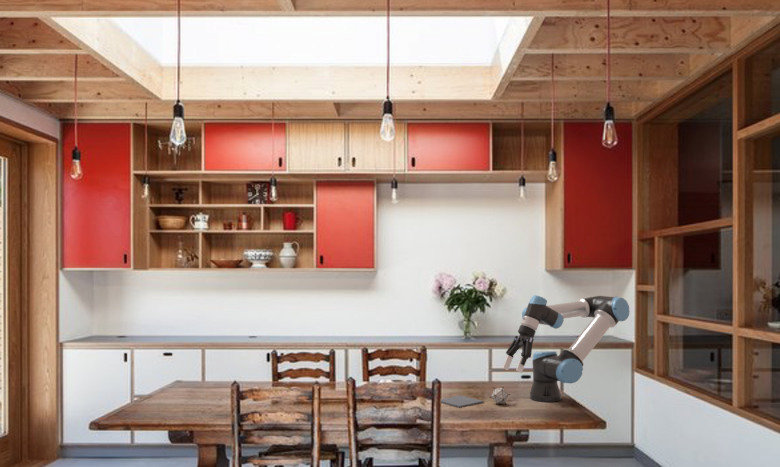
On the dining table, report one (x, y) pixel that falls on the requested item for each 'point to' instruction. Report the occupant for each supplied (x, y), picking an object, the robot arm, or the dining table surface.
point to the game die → (499, 395)
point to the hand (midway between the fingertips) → (511, 370)
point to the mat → (460, 401)
